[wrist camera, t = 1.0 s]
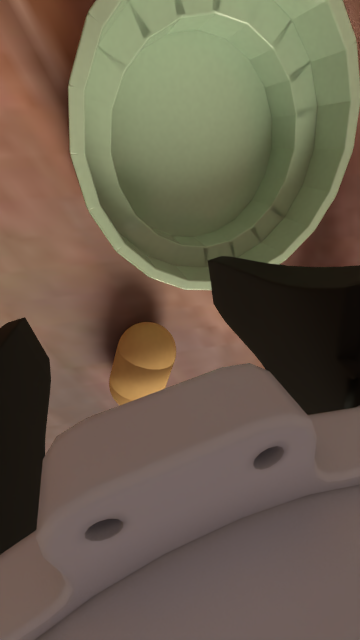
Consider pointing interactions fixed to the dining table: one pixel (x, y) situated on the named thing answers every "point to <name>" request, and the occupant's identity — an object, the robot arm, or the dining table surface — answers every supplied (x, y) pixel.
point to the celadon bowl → (211, 127)
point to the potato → (141, 362)
